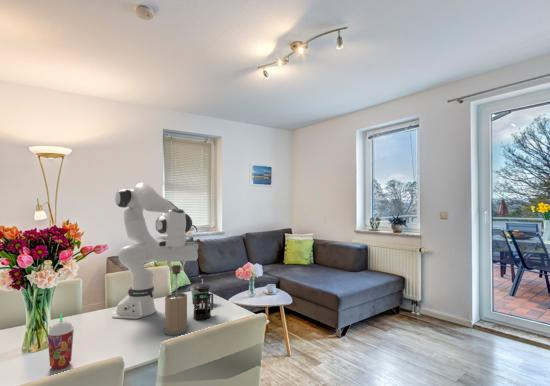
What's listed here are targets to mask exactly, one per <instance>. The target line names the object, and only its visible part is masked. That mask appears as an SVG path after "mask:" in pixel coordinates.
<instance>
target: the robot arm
mask: <svg viewBox="0 0 550 386" xmlns="http://www.w3.org/2000/svg"><path fill="white" fill-rule="evenodd" d="M114 200H115V203H116V206H118V207H119V208H124V210H123V222H124V226H125V230H126V234H127V238H128V239H129V240H131V241H133V242H135V243H136V244H135V243H134V244H129V245H125V246H123V247H121V248H120V250H119V252H118V254H117V255H118V260H119V262H120V263H121V264H122V265H124V266H125V267H126V268H127V269H128V271H129V272H130V275H131V287H129V289H128V291H127V294H128V295H126V296H125V297H124V298H123V299H121V300H120V301H119V302H118V304H117V306H116V310H114V311H113V312H112V313H111V318H113V319H132V320H133V319H140V318H143V317H147V316H151V315H152V314H154V313H156V312H157V309H156V305H155V300H154V296H155V286H154V273H153V271H152V270H150V269H148V268H146V267H145V266H144V264H145V263H150V262H151V263H152V262H156V263H159V262H166V265H167V267H168V270H169V271H172V272H173V265H172V264H171V262H181V263H182V265H180V271H184V269H185V267H184V266H185V264H186V263H187V262H195V261H197V260H198V257H199V254H198V253H199V252H198V250H199V244H198V243H197V242H196V241H187V233H188V232H189V231H190V230H191V229H192V227H193V220H192V218H191V216H190V215H188V213H186V212H185V211H184V210H183V209H180V208H178V207H177V206H176V205H175V204H174V203H173V202H171V201H170V200H168V199H167V198H165V197H163V196H162V195H160V194H159V193H158V192H157V191H156V190H155V189H154V188H153V187H152V186H151V185H150V184H148V183H145V182H140V183H138V184H136V185H135V186H134V188H133V189H132V188H131V189H128V188H127V189H126V188H124V189H119V190H118V191H117V192H116V194H115V197H114ZM144 210H145V211H147V212H152V213H153V212H154V213H162V214H163V215H160V216H158V217H157V219H156V221H155V230H156V231H157V232H158V233H159V234H162V235H166V238H165V239H163V240H162V239H161V240H159V241H158V240H156V239H155V238H154V237H153V236H152V235H151V234H150V231H149V230H148V226H147V223H146V220H145V217H144Z"/></svg>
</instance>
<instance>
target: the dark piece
mask: <svg viewBox="0 0 550 386" xmlns="http://www.w3.org/2000/svg"><path fill="white" fill-rule="evenodd" d="M189 290H190V292H191V299H192V304H193V305H194V295H195V294H199V293H201V292H199V291H198V290H195V288H194V286H192V285H191V286H190V289H189ZM203 293H209V294H210V291H208V292H203ZM206 297H208V296H206V295H203V298H206ZM196 298H197V297H196ZM200 298H202V295H201V296H200ZM200 303H202V301H200ZM203 303H205V300H203ZM196 304H197V300H196Z"/></svg>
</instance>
